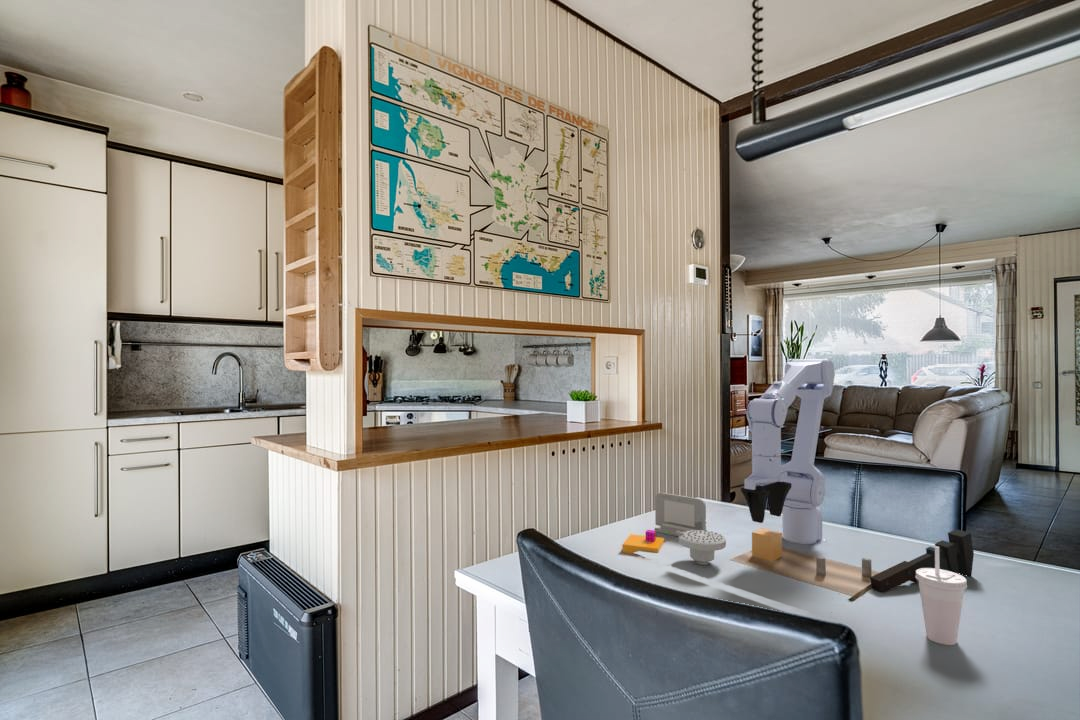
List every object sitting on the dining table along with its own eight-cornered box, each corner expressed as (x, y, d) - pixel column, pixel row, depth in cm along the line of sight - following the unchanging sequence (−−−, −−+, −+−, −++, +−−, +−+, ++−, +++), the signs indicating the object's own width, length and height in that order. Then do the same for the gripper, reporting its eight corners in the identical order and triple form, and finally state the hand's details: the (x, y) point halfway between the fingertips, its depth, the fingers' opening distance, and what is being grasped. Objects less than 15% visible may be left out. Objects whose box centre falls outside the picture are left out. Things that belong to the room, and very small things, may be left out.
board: (767, 548, 126) (767, 529, 126) (885, 578, 108) (885, 557, 108) (729, 564, 116) (729, 544, 116) (852, 601, 97) (852, 577, 97)
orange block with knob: (658, 559, 121) (658, 539, 121) (622, 554, 124) (622, 535, 124) (664, 547, 128) (664, 529, 128) (630, 543, 131) (630, 525, 131)
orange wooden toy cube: (762, 551, 121) (762, 528, 121) (782, 556, 118) (781, 532, 118) (752, 555, 118) (751, 532, 118) (771, 561, 115) (771, 537, 115)
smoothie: (905, 629, 87) (905, 540, 87) (943, 628, 88) (943, 539, 88) (938, 650, 81) (937, 554, 81) (979, 648, 81) (978, 553, 81)
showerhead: (674, 524, 120) (723, 526, 118) (675, 557, 120) (723, 560, 118) (676, 537, 111) (728, 540, 109) (676, 573, 111) (729, 577, 109)
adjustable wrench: (874, 613, 104) (962, 568, 112) (887, 619, 101) (976, 573, 110) (867, 570, 103) (956, 529, 112) (880, 575, 101) (970, 532, 109)
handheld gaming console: (719, 534, 137) (719, 493, 137) (703, 543, 130) (703, 500, 130) (672, 524, 146) (671, 486, 146) (654, 532, 139) (654, 492, 139)
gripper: (767, 460, 110) (767, 529, 110) (800, 453, 120) (801, 516, 120) (735, 456, 116) (735, 521, 116) (769, 449, 125) (769, 509, 125)
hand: (766, 518), depth 118 cm, fingers open, 7 cm apart
